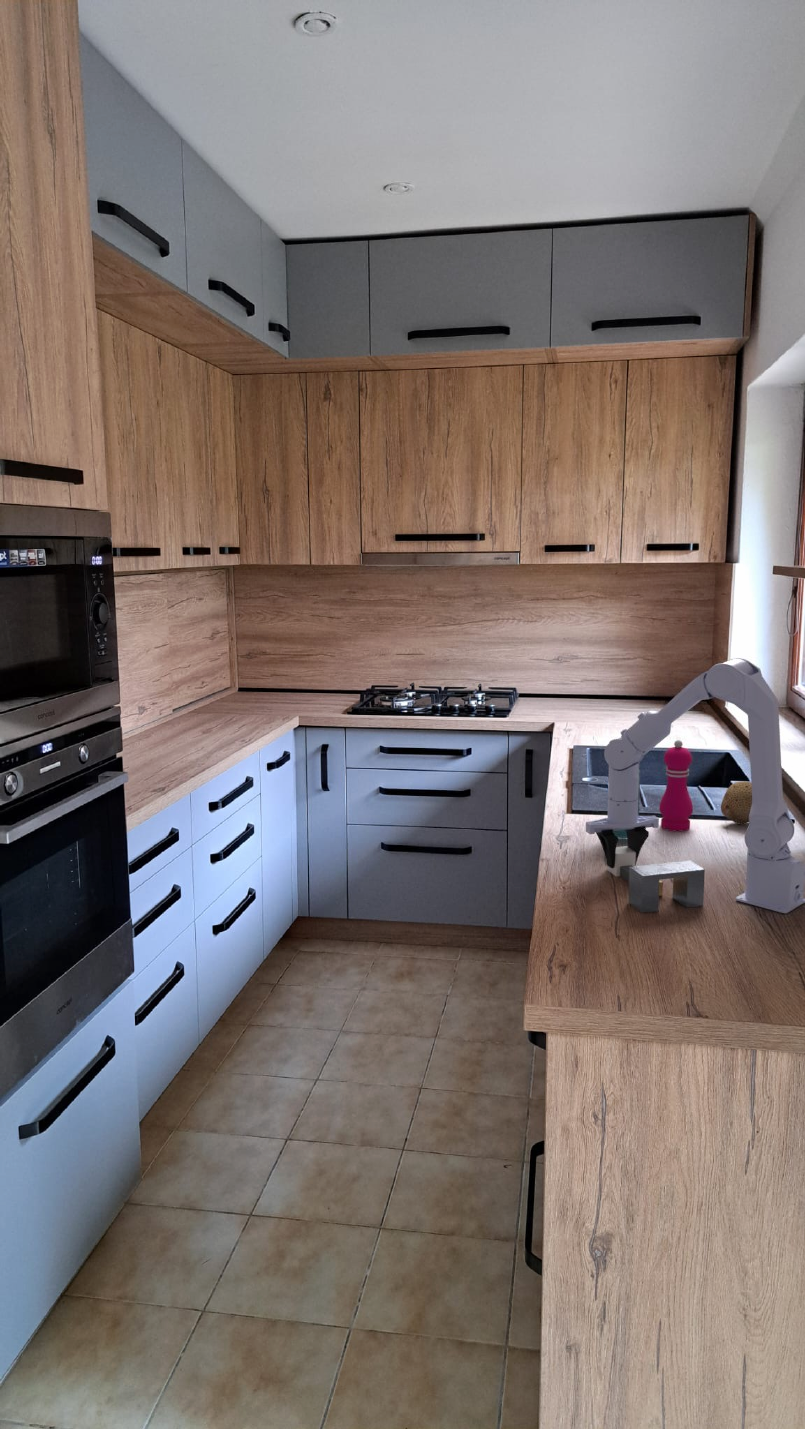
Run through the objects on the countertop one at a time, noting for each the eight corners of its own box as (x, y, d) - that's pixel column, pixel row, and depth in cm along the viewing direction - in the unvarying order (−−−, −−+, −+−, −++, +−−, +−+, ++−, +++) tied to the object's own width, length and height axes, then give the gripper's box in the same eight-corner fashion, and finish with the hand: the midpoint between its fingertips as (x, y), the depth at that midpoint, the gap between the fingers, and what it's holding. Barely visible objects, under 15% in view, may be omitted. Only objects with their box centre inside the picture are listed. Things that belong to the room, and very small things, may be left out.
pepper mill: (680, 834, 215) (683, 745, 212) (652, 827, 221) (655, 740, 217) (698, 827, 220) (702, 740, 216) (670, 820, 225) (673, 735, 222)
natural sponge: (773, 827, 219) (775, 783, 218) (743, 832, 216) (745, 788, 214) (742, 816, 227) (744, 775, 226) (713, 822, 224) (715, 779, 222)
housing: (703, 905, 175) (704, 869, 173) (641, 913, 172) (642, 876, 171) (688, 895, 180) (689, 860, 178) (628, 902, 177) (629, 866, 175)
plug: (664, 895, 180) (665, 871, 179) (644, 897, 179) (645, 873, 178) (625, 867, 195) (626, 846, 194) (607, 869, 194) (607, 847, 193)
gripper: (647, 790, 195) (645, 855, 198) (579, 795, 192) (578, 862, 194) (665, 799, 188) (662, 866, 191) (595, 805, 185) (593, 874, 188)
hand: (621, 865), depth 192 cm, fingers closed on plug, 4 cm apart
